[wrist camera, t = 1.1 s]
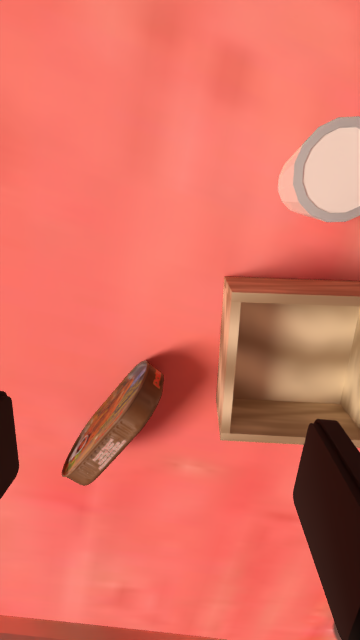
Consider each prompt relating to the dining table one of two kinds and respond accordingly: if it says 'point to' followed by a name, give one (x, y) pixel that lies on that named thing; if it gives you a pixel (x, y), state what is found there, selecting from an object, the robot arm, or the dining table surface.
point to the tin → (115, 424)
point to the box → (288, 358)
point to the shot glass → (325, 173)
